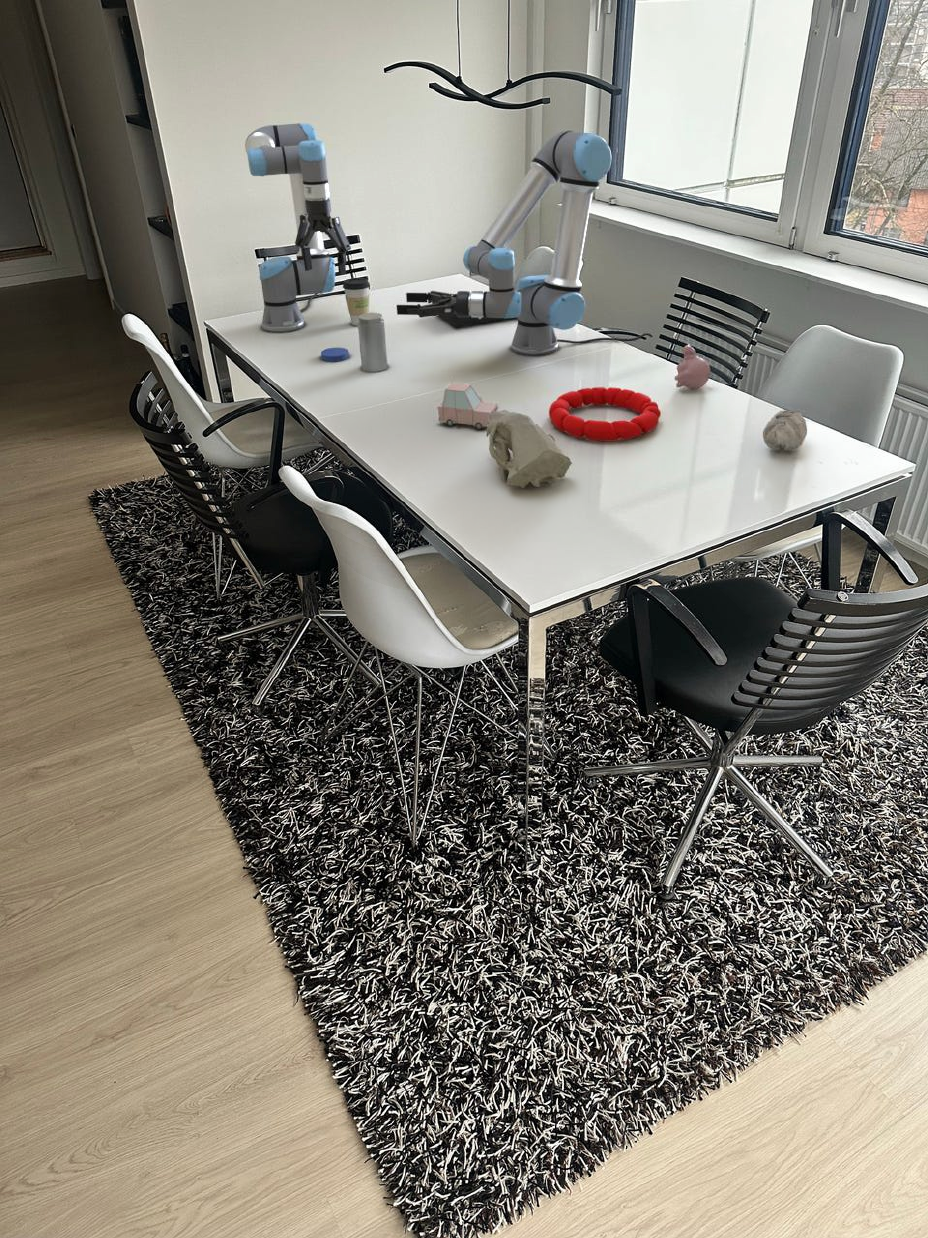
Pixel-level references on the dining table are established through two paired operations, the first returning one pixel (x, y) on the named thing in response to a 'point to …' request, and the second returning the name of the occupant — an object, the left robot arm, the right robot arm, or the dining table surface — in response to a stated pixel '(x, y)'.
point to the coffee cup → (357, 297)
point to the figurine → (692, 370)
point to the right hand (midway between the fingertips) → (401, 303)
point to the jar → (372, 342)
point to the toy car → (465, 406)
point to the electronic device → (467, 319)
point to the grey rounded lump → (785, 431)
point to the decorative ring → (604, 428)
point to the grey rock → (525, 450)
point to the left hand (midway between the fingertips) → (325, 272)
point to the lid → (334, 354)
